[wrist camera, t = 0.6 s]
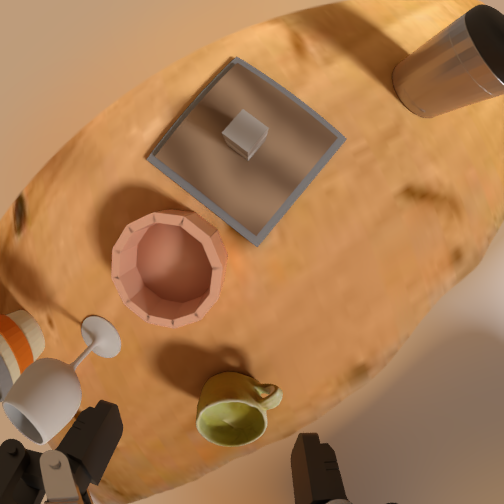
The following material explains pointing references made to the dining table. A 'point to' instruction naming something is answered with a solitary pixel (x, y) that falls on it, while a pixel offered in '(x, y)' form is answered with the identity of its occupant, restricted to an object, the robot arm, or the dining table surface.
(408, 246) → the dining table surface
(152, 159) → the mat
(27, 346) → the reusable coffee cup
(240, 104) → the lid
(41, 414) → the wineglass
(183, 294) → the bowl
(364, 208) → the dining table surface
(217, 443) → the mug
